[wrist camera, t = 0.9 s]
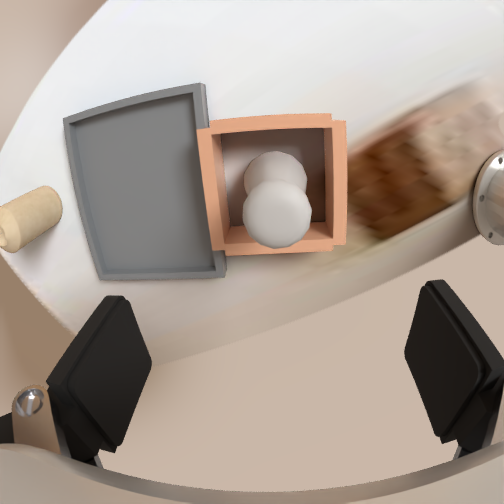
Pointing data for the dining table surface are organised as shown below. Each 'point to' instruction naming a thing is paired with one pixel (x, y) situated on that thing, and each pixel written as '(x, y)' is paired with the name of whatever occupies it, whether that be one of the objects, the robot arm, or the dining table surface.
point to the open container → (214, 184)
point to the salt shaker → (276, 200)
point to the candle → (28, 217)
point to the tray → (144, 186)
